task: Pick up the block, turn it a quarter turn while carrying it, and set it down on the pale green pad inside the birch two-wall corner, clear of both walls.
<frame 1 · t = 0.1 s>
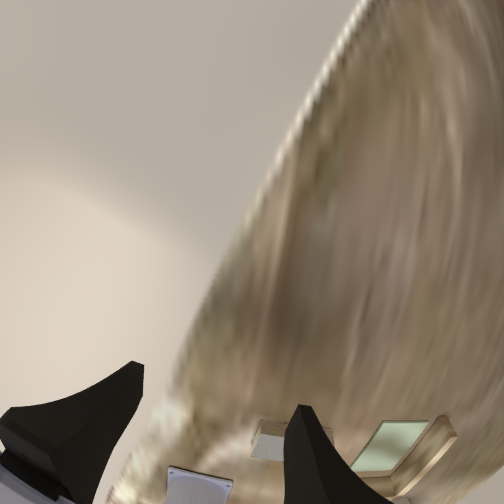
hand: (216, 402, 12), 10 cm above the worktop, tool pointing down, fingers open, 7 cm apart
arena: (370, 455, 26), on the worktop
block: (291, 436, 26), on the worktop
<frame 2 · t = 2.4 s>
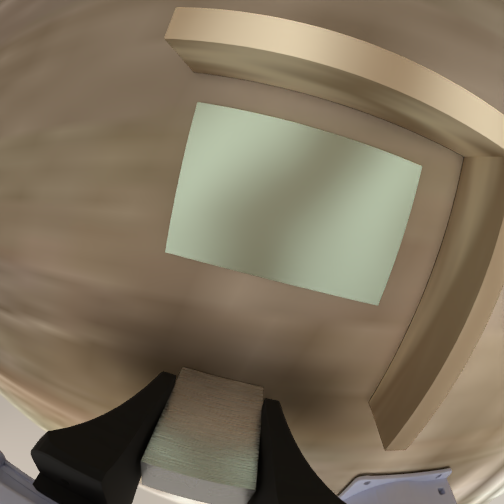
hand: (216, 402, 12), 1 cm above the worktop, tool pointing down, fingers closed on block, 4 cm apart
arena: (321, 252, 12), on the worktop
block: (211, 422, 15), on the worktop, touching gripper
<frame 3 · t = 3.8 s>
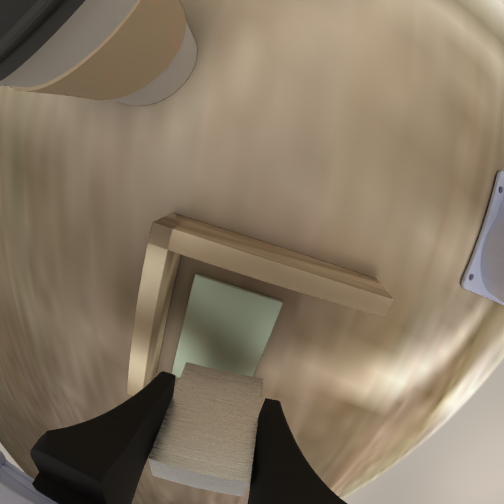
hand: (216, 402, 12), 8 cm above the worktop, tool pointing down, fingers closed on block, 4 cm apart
arena: (248, 331, 21), on the worktop
block: (217, 408, 16), point 6 cm above the worktop, tilted 8°, touching gripper
coffee cup: (149, 61, 16), on the worktop
when the fingers open (3 cm above the worktop, at t = 5.3 s): block stays where it is, resting on arena.
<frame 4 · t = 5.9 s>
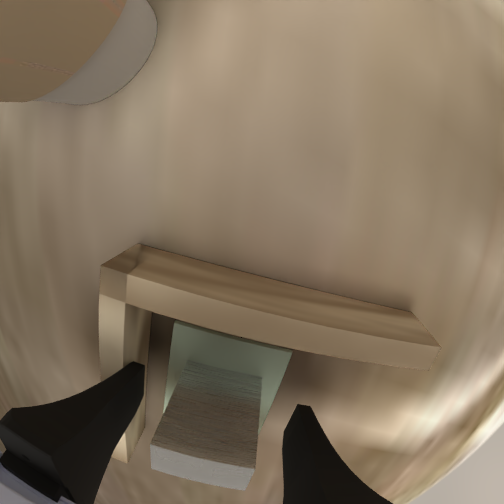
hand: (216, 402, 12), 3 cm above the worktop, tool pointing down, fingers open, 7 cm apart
arena: (249, 386, 15), on the worktop
block: (215, 412, 16), resting on arena
coffee cup: (99, 47, 11), on the worktop
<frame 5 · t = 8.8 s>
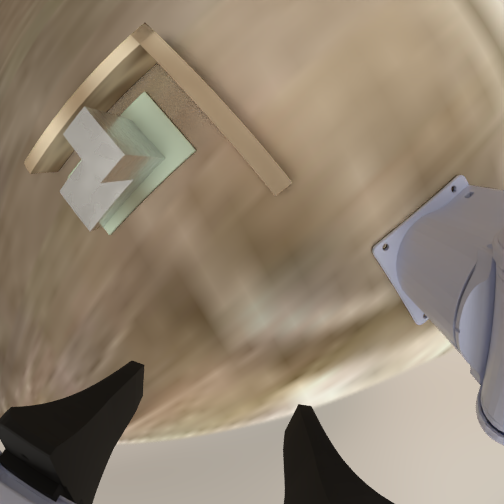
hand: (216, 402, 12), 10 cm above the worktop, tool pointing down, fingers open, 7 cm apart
arena: (151, 164, 20), on the worktop
block: (115, 173, 20), resting on arena
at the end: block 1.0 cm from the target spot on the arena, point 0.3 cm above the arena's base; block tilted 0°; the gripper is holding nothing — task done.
